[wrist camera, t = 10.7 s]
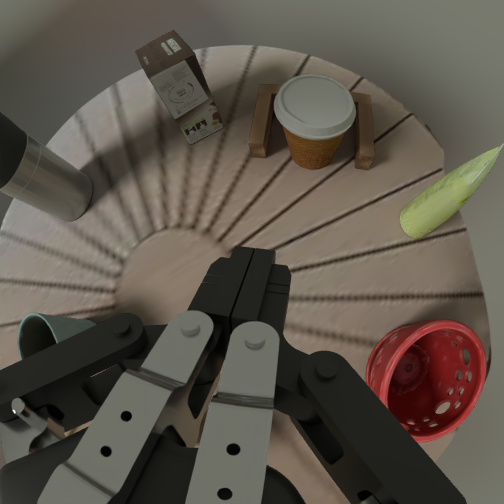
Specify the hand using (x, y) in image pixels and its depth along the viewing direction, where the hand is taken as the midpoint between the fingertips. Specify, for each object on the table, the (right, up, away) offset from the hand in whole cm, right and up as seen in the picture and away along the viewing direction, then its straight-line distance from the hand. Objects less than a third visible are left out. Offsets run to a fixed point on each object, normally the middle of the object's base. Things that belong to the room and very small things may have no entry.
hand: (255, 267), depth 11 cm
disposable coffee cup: (+9, +15, +29) cm, 34 cm away
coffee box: (-9, +23, +33) cm, 41 cm away
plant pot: (+20, -15, +21) cm, 32 cm away
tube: (+22, +5, +24) cm, 34 cm away
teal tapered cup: (-26, -14, +28) cm, 41 cm away
